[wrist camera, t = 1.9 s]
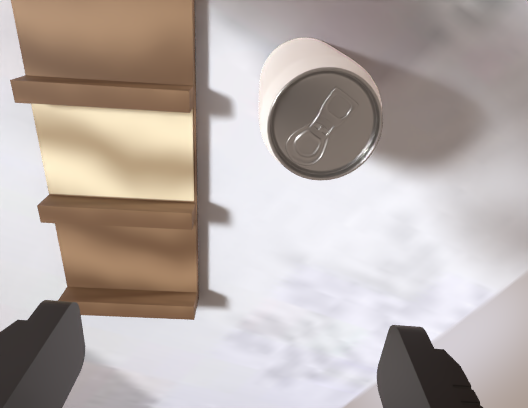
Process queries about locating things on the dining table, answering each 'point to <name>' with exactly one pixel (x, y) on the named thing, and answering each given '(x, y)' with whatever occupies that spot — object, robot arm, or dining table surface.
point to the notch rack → (117, 148)
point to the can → (318, 110)
